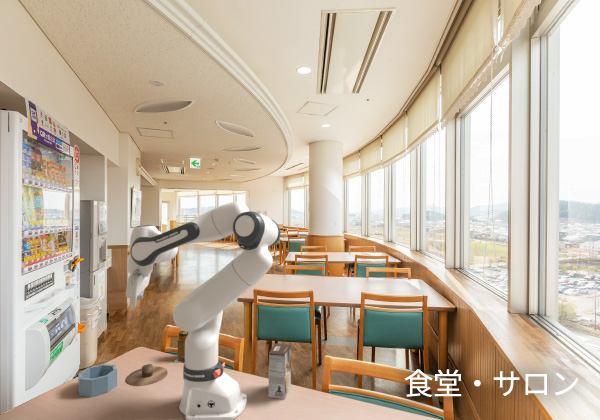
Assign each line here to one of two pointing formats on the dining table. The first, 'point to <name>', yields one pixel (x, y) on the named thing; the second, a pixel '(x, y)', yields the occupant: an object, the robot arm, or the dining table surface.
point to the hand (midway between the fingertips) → (136, 303)
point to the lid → (146, 375)
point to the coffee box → (279, 371)
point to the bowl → (97, 380)
